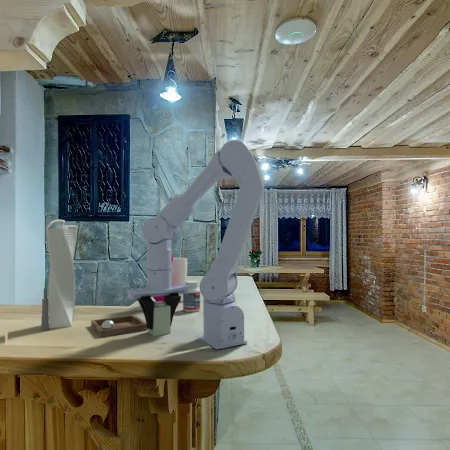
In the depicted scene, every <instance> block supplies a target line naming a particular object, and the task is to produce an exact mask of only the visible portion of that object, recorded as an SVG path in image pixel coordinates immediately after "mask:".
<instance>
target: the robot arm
mask: <svg viewBox="0 0 450 450" xmlns="http://www.w3.org/2000/svg"><path fill="white" fill-rule="evenodd" d="M231 178H234V180H235V182H236V183H237V185H238V187H239V192H238V194H237V198H236V200H235V203H234V206H233V209H232V212H231V215H230V218H229V221H228V223H227V227H226V229H225V232H224V235H223V239H222V241H221V244H220V246H219V250H218V252H217V255H216V257H215V259H214V260H213V262H212V263H211V265H210V267H209V269H208V271H207V273H206V274H205V275H204V276H203V277H202V278H201V280H200V282H199V289H200V295H201V296H202V297H203V317H202V319H203V321H202V322H203V325H202V326H203V329H202V330H203V332H202V333H203V334H200V335H196V336H195V337H197V338H198V339H200V340H202V341H204V342H205V343H206V344H208V346H210V347H211V348H213V349H215V350H220V349H226V348H230V347H235V346H240V345H244V344H248V340H246V339H245V315H244V311H243V310H242V308H241V307H240V306H238V305H237V303H236V302H237V301H236V296H235V294H234V292H235V291H236V290H237V287H238V272H239V268H240V267H239V265H240V262H239V261H240V259H241V256H242V254H243V251H244V248H245V246H246V242H247V240H248V236H249V234H250V230H251V229H252V225H253V223H254V219H255V217H256V214H257V211H258V208H259V206H260V203H261V199H262V196H263V194H264V191H265V183H264V179H263V175H262V171H261V164H260V162H259V160H258V159H257V157H256V156H255V154H254V153H253V152H252V151H251V150H249V148H248V146H247V145H246V144H245V143H244V142H243V141H240V139H239V140H238V139H232V140H229V141H226V142H225V143H224V144H223V145H222V147H221V149H219V150H218V151H216V152H215V153H213V156H212V157H211V160H210V161H209V162H208V163H207V165H206V166H205V167H204V169H203V170H202V171H201V172H200V173H199V175H198V176H197V177H196V178H195V180H194V181H193V182H192V183H191V185H189V187H187V190H186V191H184V193H177V194H175V195H174V196H173V195H171V196H170V197H169V198H168V203H166V205H165V206H164V207H163V208H162V209H161V210H160V211H158V212H156V213H155V217H150V218H148V219H146V221H145V223H144V224H143V225H142V236H143V238H144V239H145V240H146V287H141V288H135V289H127V299H128V300H130V301H133V300H135V299H137V302H138V304H139V306H140V308H141V310H142V313H143V317H144V319H145V322H146V324H147V328H148V329H153V308H154V302H155V301H154V299H153V297H156V296H164V302H166V304H167V305H169V306H170V327H172V325H173V319H174V317H175V313H176V310H177V307H178V305H179V304H180V303H181V302H180V300H181V296H179V294H189V286H187V285H172V286H171V253H172V241H173V240H174V239H175V237H176V233H177V230H178V229H179V228H180V227H181V226H182V225H183V224H184V223H185V222H186V221H187V219H189V218H190V216H192V214H194V212H195V210H196V209H195V205H196V202H198V201H199V200H200V199H201V197H202V196H204V195H205V194H206V193H208V191H209V190H210V189H211V188H212V187H213V186H214V185H215V184H217V182H218V181H220V180H225V179H231ZM158 293H160V294H158Z"/></svg>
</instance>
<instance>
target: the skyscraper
mask: <svg viewBox="0 0 450 450" xmlns="http://www.w3.org/2000/svg"><path fill="white" fill-rule="evenodd" d="M56 222H63V223H62V225H55V228H50V226H51V225H52V224H53V223H56ZM65 223H66V220H64V219H55V220H52V221H50V222H49V223H48V225H47V227H46V229H45V230H46V241H47V250H48V258H49V262H50V266H49V267H50V268H49V275H48V285H47V281H46V280H45V281H44V288H43V298H42V299H41V301H42V302H41V305H42V306H41V328H40V329H41V330H40V331H49V330H50V329H58V328H65V327H66V328H68V327H69V328H70V327H71V328H72V326H73V325H72V324H73V322H74V316H75V306H76V272H75V271H76V270H75V265H74V257H75V253H76V245H77V237H78V230H79V228H78V226H77V225H72V224H71V225H66V224H65ZM47 286H48V288H47Z"/></svg>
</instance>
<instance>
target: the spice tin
mask: <svg viewBox="0 0 450 450" xmlns="http://www.w3.org/2000/svg"><path fill="white" fill-rule="evenodd" d="M147 333H149V334H151V335H152V336H153V337H156V336H157V337H158V336H163V335H169V334H171V326H170V306H169V305H167V304H166V302H161V301H160V302H156V301H154V308H153V329H148V330H147Z"/></svg>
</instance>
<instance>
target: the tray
mask: <svg viewBox="0 0 450 450" xmlns="http://www.w3.org/2000/svg"><path fill="white" fill-rule="evenodd" d="M106 320H111V321H113V322H114V324H115V328H113V329H106V330H103V329H102V324H103V322H105V321H106ZM90 327H91V328H92V329H93V330H94V331H95V332H96V334H97V335H98V336H99V337H100V338H106V337H112V336H113V337H114V336H119V335H125V334H132V333H139V332H144V331H148V328H147V324H146V321H144V320H143V319H141V318H139V317H138V316H136V314H131V315H130V314H129V315H122V316H114V317H108V318H107V317H106V318H100V319H92V320H91V321H90Z"/></svg>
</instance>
